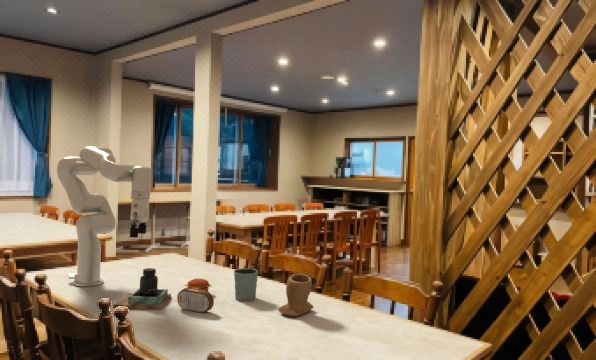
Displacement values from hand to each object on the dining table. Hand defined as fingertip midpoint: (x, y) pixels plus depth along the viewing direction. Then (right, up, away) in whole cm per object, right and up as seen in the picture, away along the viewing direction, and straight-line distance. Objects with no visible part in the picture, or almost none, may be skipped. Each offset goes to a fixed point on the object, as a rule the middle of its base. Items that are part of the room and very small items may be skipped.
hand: (137, 235), depth 183 cm
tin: (+28, -27, -18) cm, 43 cm away
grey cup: (+46, -27, 0) cm, 53 cm away
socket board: (+6, -26, -11) cm, 28 cm away
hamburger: (+24, -26, +4) cm, 36 cm away
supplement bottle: (+8, -25, -10) cm, 28 cm away
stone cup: (+68, -29, -15) cm, 76 cm away
